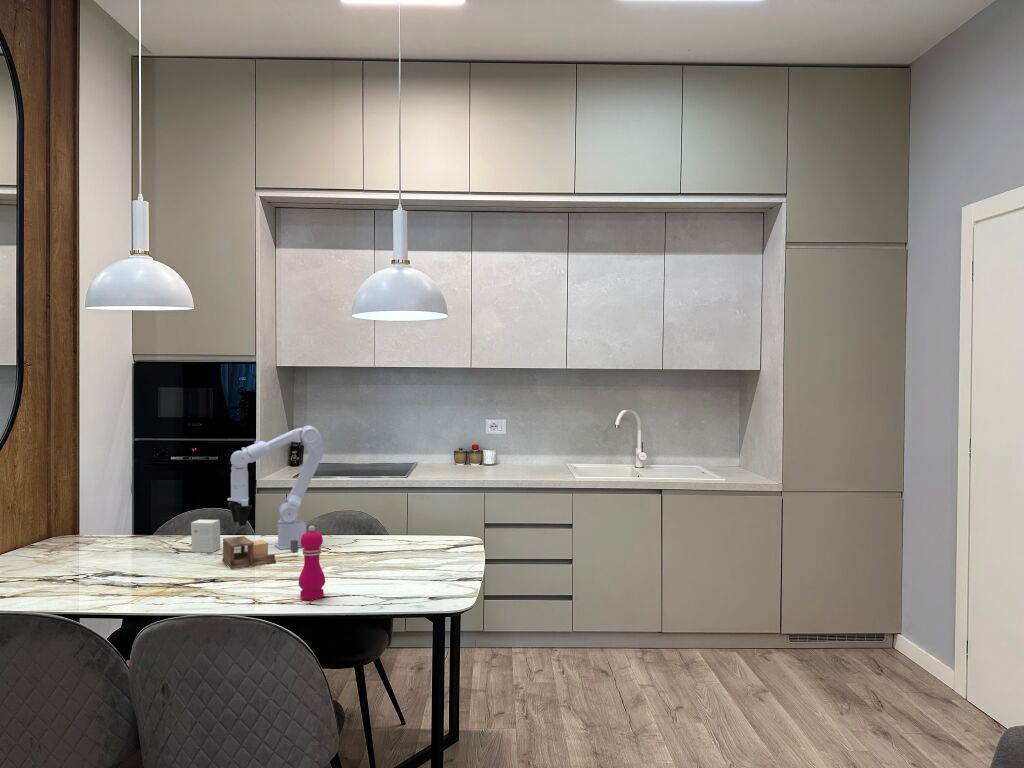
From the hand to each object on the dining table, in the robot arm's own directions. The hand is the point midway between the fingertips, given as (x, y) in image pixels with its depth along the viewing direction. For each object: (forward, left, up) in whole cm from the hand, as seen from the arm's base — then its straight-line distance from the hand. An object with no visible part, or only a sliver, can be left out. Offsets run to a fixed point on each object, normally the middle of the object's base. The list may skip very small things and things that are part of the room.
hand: (239, 523), depth 264 cm
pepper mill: (-2, +68, -10) cm, 69 cm away
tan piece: (-6, +19, -8) cm, 22 cm away
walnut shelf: (+2, +19, -9) cm, 21 cm away
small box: (+10, -6, -10) cm, 15 cm away
